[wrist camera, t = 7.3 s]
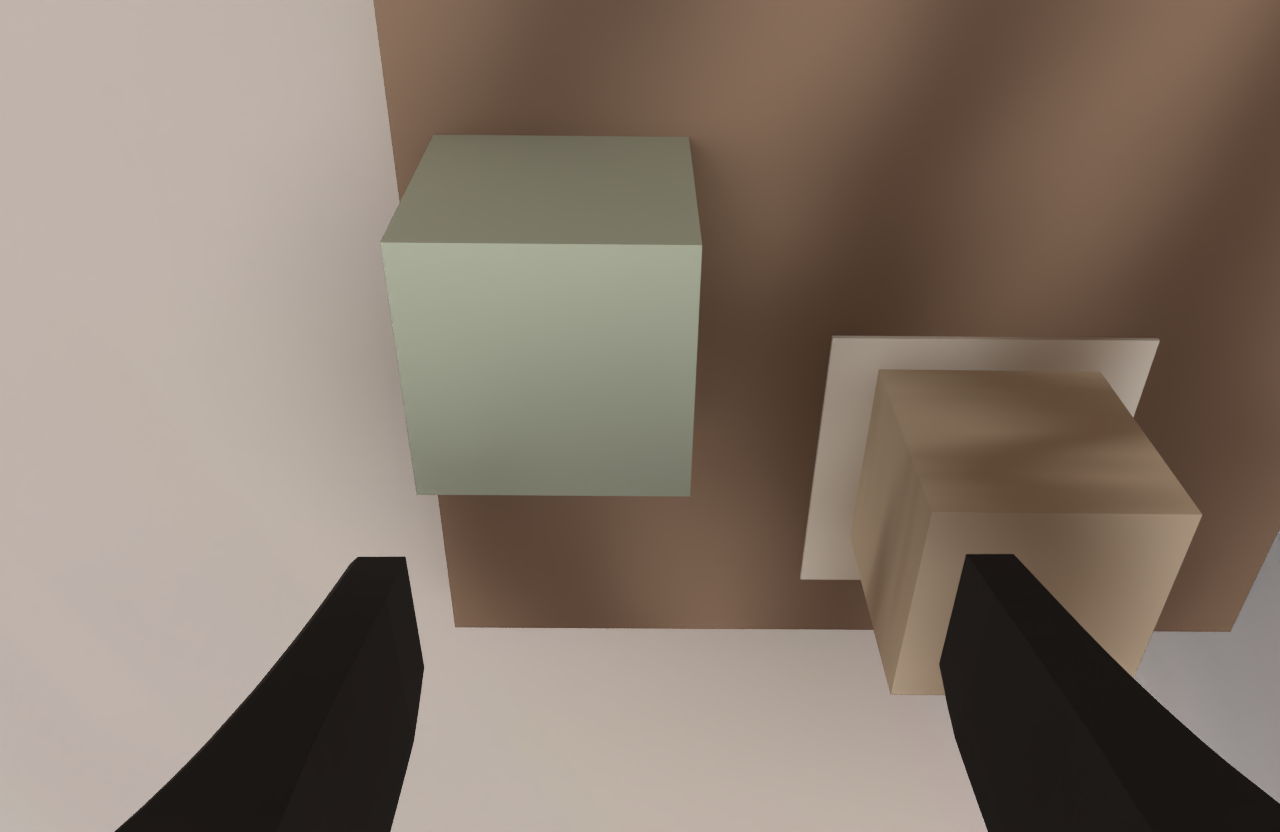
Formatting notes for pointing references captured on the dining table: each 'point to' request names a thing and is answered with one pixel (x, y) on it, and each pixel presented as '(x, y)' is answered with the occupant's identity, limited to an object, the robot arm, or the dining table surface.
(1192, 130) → the board
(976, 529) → the beech block
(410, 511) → the dining table surface
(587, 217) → the sage block
